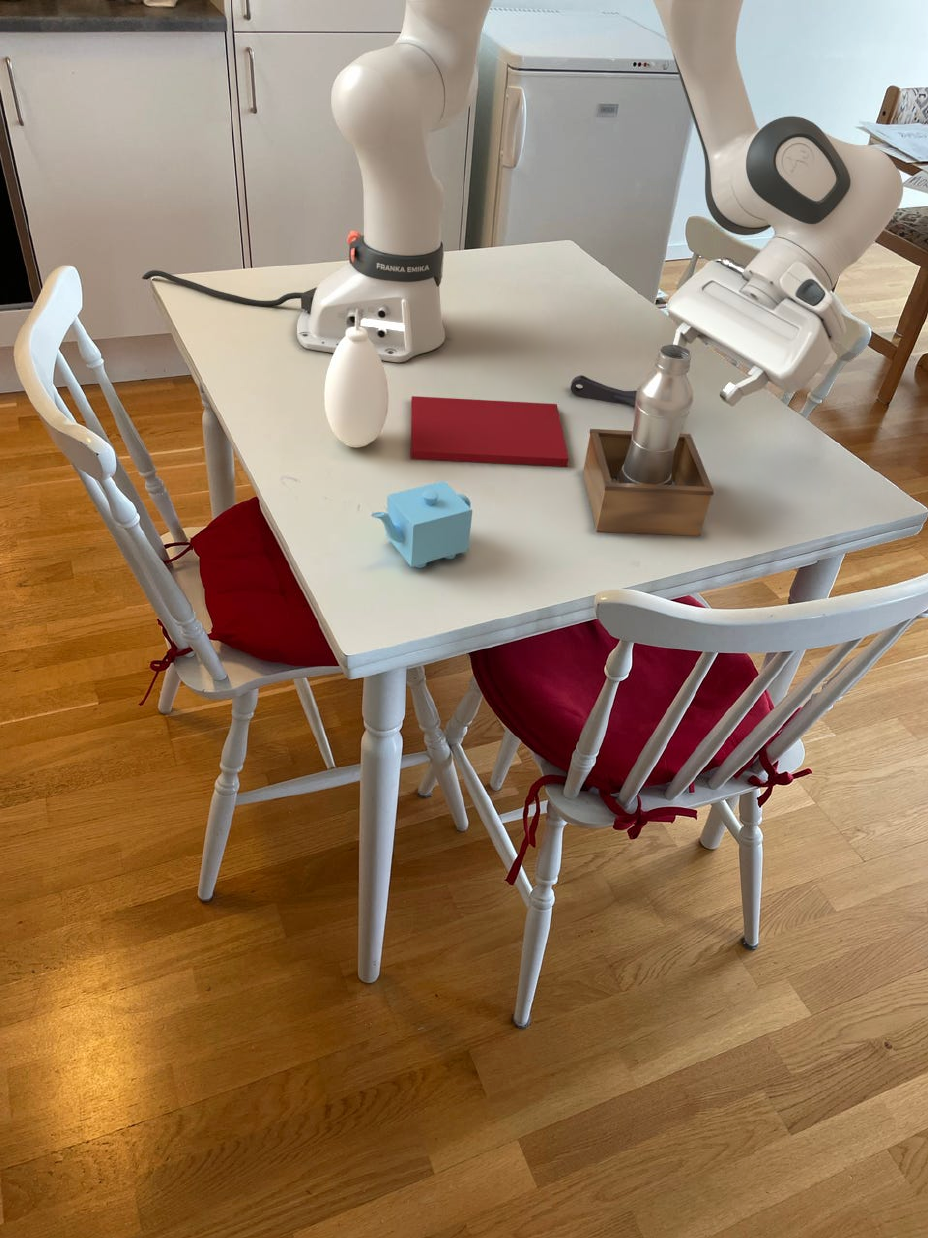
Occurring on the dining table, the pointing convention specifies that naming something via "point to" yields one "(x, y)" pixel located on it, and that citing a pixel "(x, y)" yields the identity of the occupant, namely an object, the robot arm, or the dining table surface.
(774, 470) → the dining table surface
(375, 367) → the white air blower bulb
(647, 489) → the wooden box
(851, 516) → the dining table surface
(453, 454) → the cushion mat
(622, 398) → the squeegee
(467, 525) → the teapot
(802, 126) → the robot arm
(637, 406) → the metal bottle
